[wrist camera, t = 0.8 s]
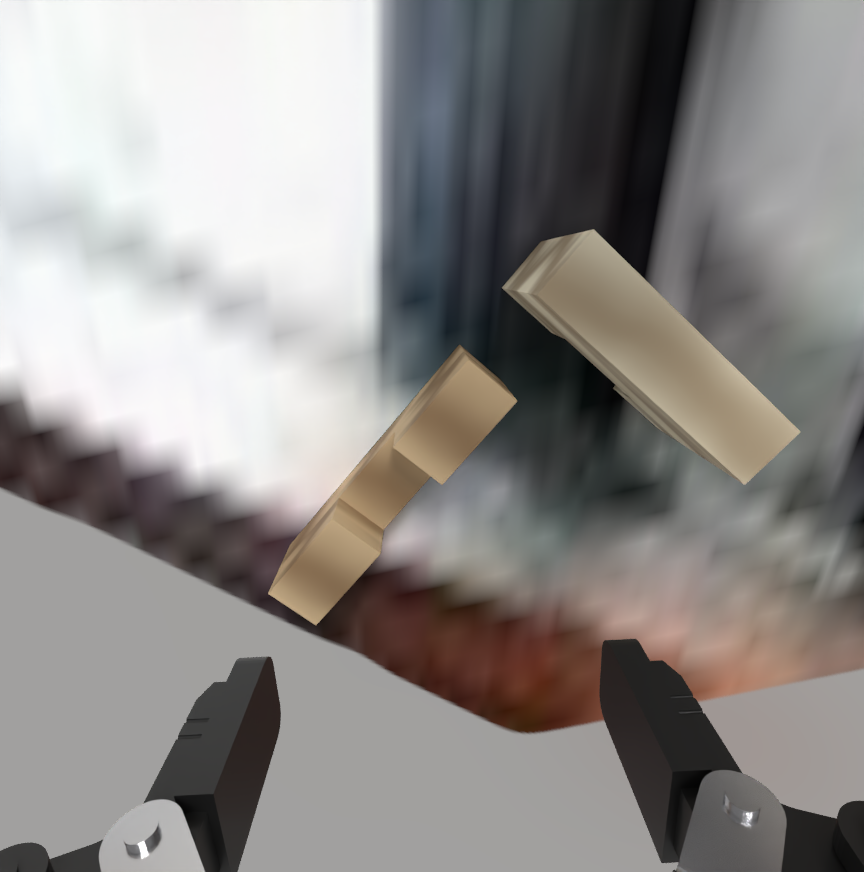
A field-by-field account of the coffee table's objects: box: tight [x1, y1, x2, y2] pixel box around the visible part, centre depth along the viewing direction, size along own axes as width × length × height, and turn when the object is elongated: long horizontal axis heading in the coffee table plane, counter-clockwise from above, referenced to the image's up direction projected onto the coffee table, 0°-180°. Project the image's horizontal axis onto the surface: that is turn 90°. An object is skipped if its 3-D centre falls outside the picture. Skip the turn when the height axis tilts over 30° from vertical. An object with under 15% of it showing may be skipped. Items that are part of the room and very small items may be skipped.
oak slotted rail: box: [268, 345, 517, 625], centre depth 33 cm, size 18×4×6 cm, turn 140°
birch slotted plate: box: [502, 229, 800, 485], centre depth 29 cm, size 4×14×10 cm, turn 50°
